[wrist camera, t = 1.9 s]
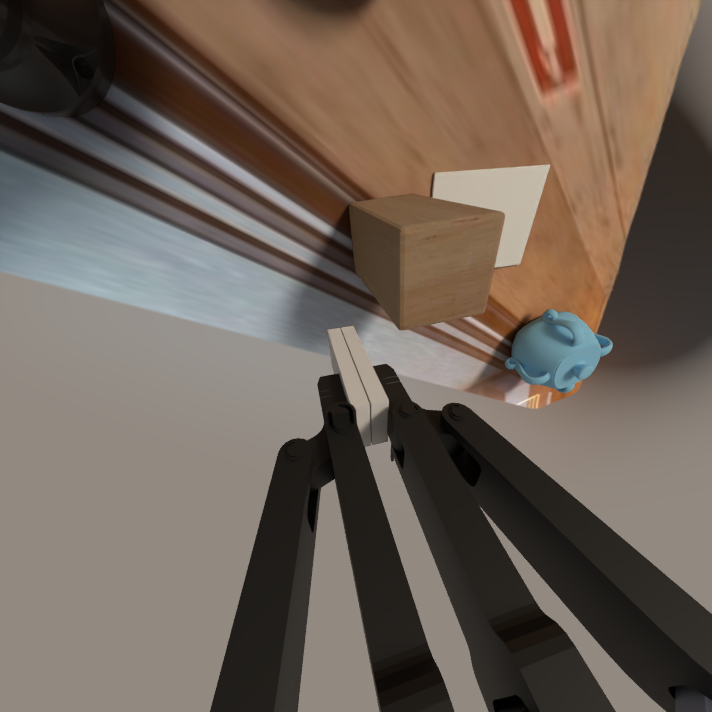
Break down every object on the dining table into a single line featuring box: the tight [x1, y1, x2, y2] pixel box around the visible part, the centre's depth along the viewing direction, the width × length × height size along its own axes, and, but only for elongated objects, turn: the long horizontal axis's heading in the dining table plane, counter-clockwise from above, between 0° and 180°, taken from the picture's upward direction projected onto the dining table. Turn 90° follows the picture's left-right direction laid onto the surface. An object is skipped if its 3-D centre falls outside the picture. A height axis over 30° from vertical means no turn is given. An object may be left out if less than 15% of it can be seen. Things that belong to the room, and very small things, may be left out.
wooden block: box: [349, 194, 505, 330], centre depth 33 cm, size 10×10×20 cm
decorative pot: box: [505, 309, 612, 393], centre depth 57 cm, size 16×16×14 cm
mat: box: [431, 165, 550, 268], centre depth 44 cm, size 15×19×1 cm
